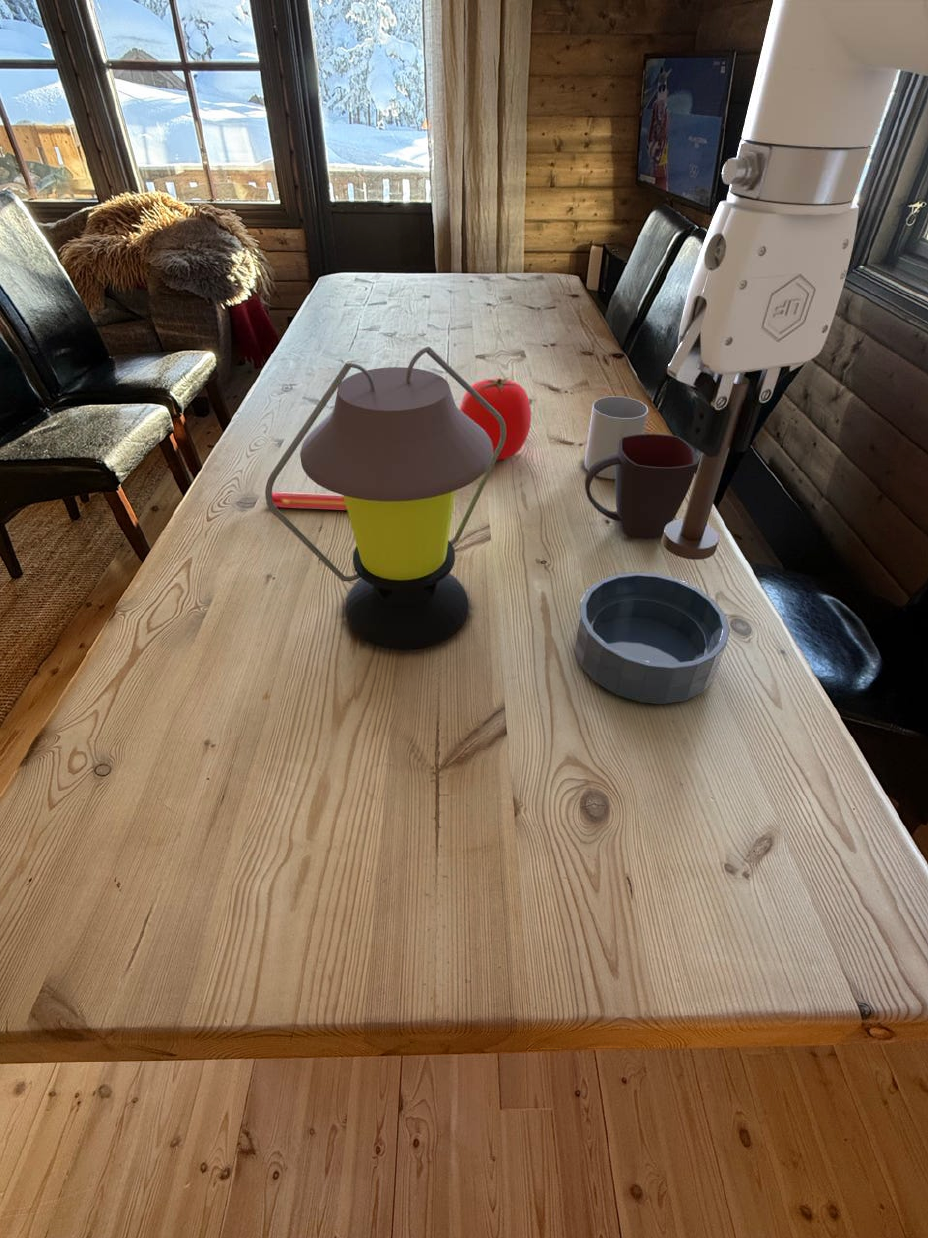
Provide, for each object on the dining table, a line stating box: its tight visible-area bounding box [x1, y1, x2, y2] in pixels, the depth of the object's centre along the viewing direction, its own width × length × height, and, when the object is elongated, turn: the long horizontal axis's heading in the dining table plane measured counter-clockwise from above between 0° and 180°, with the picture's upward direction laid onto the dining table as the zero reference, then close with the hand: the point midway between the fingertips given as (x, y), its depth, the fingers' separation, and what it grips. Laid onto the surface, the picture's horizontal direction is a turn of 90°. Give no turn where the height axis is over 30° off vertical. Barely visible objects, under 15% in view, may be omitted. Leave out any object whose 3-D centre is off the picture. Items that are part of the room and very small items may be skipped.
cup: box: [584, 395, 649, 480], centre depth 104 cm, size 8×8×10 cm
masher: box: [661, 374, 750, 561], centre depth 55 cm, size 5×5×15 cm
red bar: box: [272, 491, 347, 511], centre depth 96 cm, size 24×2×5 cm
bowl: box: [573, 571, 731, 705], centre depth 72 cm, size 15×15×6 cm
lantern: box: [264, 346, 506, 651], centre depth 70 cm, size 25×19×30 cm
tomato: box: [459, 377, 532, 461], centre depth 106 cm, size 12×12×13 cm
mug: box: [584, 433, 699, 540], centre depth 89 cm, size 10×14×12 cm
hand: (717, 445), depth 54 cm, fingers closed on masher
